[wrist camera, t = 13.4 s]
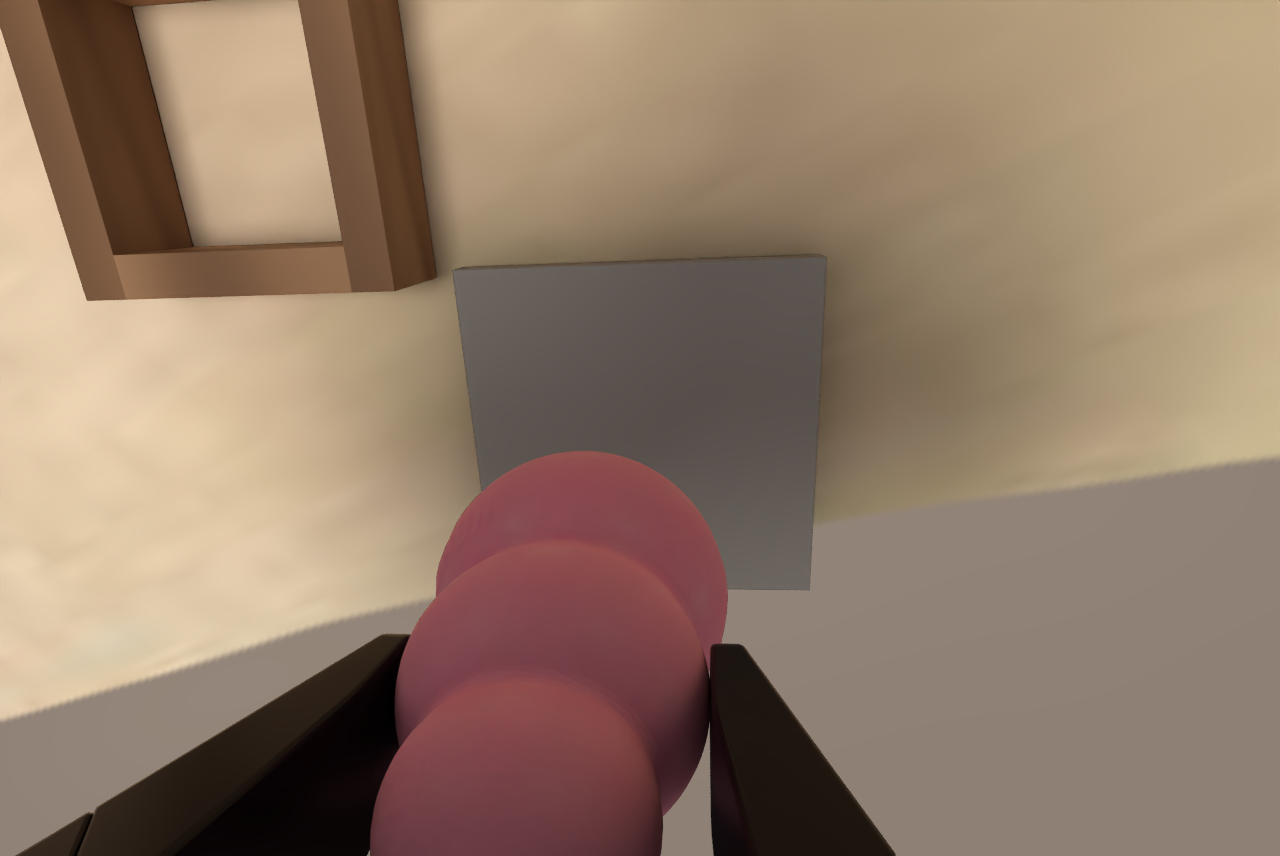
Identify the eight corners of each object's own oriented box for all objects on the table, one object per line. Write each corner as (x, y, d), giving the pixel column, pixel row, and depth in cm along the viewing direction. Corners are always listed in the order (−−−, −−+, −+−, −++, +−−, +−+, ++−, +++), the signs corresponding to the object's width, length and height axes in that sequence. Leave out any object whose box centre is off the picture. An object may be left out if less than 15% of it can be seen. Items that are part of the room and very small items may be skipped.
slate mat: (820, 254, 16) (826, 257, 15) (805, 574, 19) (809, 590, 18) (462, 266, 17) (452, 270, 16) (502, 571, 20) (494, 586, 19)
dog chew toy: (723, 417, 11) (758, 774, 4) (723, 640, 12) (752, 1166, 6) (464, 421, 11) (125, 750, 5) (495, 637, 13) (269, 1121, 6)
